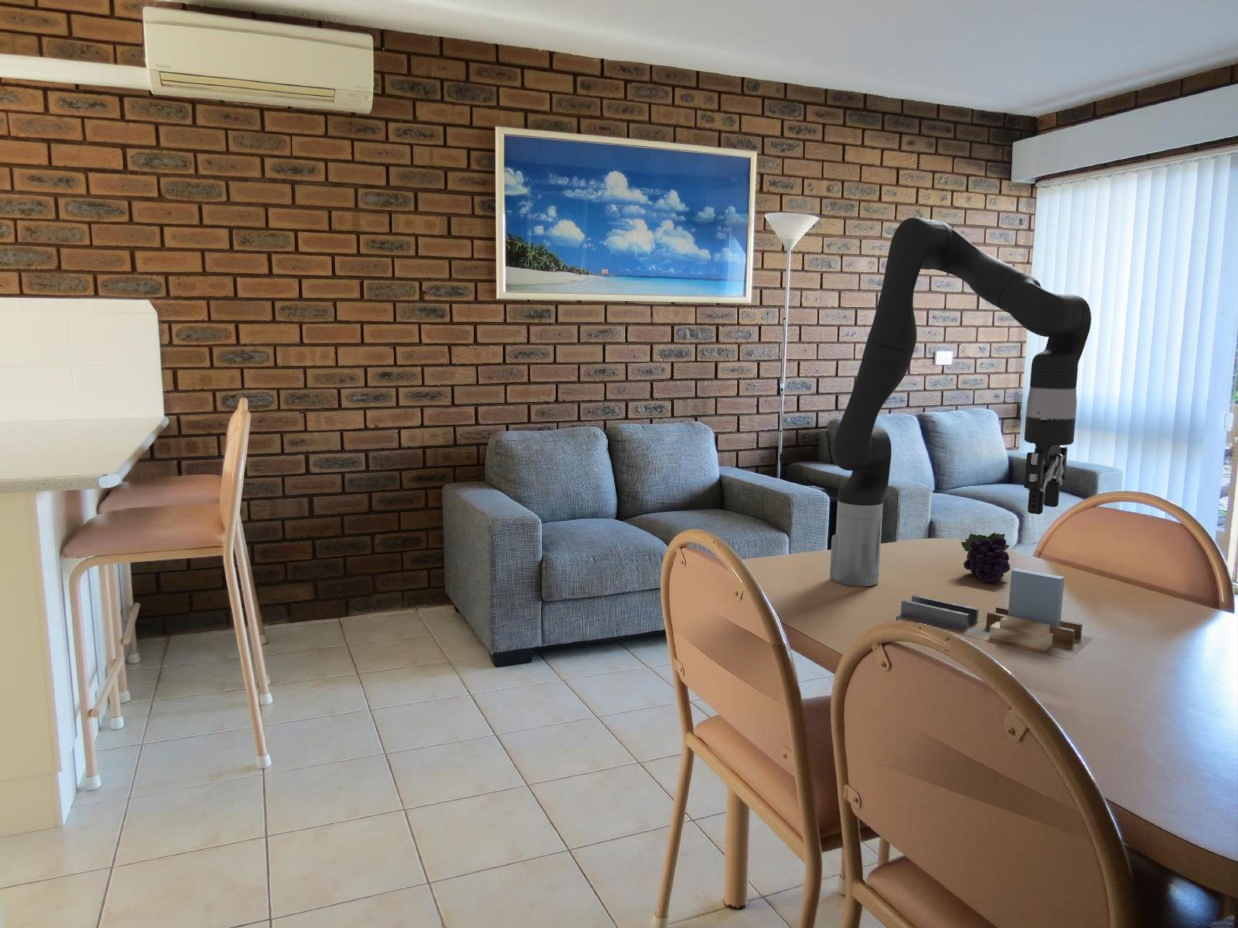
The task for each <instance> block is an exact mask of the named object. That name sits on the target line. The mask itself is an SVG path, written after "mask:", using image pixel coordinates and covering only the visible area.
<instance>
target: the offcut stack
mask: <svg viewBox="0 0 1238 928" xmlns="http://www.w3.org/2000/svg"><path fill="white" fill-rule="evenodd" d="M1049 632H1050V625H1049V624H1044V623H1040V622H1035V621H1030V620H1026V619H1021V618H1016V617H1012V616H1007V615H1006V616H1005V617H1003V618H1002V619H1000V622H998V621H997V622H996V623H994V624H993V625H991V626H990V634H989V638H993V639H998V640H1002V641H1006V642H1010V643H1015V644H1019V645H1023V646H1028V647H1032V648H1036V649H1040V650H1045V651H1046V650H1047V649H1048V648H1049V647H1051V646H1052V640H1053V634H1052V633H1049Z"/></svg>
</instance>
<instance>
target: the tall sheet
mask: <svg viewBox="0 0 1238 928" xmlns="http://www.w3.org/2000/svg"><path fill="white" fill-rule="evenodd" d="M1010 573H1011V575H1010V585H1009V599H1008V608H1009V609H1008V616H1012V617H1017V618H1022V619H1026V620H1031V621H1036V622H1040V623H1045V624H1049V625H1054V626H1059V627H1060V622H1061V619H1062V609H1063V596H1064V586H1065V576H1062V575H1056V574H1052V573H1046V572H1040V571H1034V570H1028V569H1023V568H1017V567H1015V568H1013V569H1011V572H1010Z"/></svg>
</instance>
